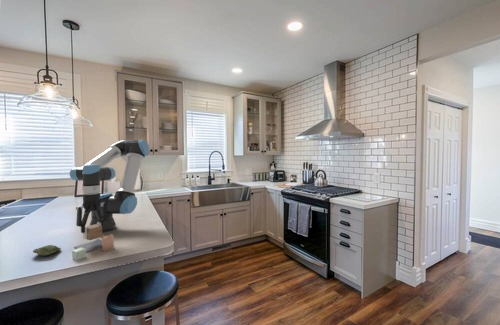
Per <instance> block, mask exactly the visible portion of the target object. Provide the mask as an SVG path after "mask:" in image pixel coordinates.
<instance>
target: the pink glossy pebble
mask: <svg viewBox="0 0 500 325" xmlns="http://www.w3.org/2000/svg"><path fill="white" fill-rule="evenodd" d="M101 240H102V249H101V251H103V252H109V251H112V250H113V249H114V240H115V239H114V234H105V235H102V237H101Z"/></svg>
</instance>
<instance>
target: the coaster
mask: <svg viewBox="0 0 500 325" xmlns="http://www.w3.org/2000/svg"><path fill="white" fill-rule="evenodd" d="M73 247H74V250H75V249H78V248H81V247H82V248H85V249H86V254H87V253H90V252H92V251H93V252H94V251H96V250H98V249H101V248H102V239H96V240H95V239H94V240H93V241H92V240H91V241H90V242H86V243H83V244H79V245H75V246H73Z"/></svg>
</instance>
